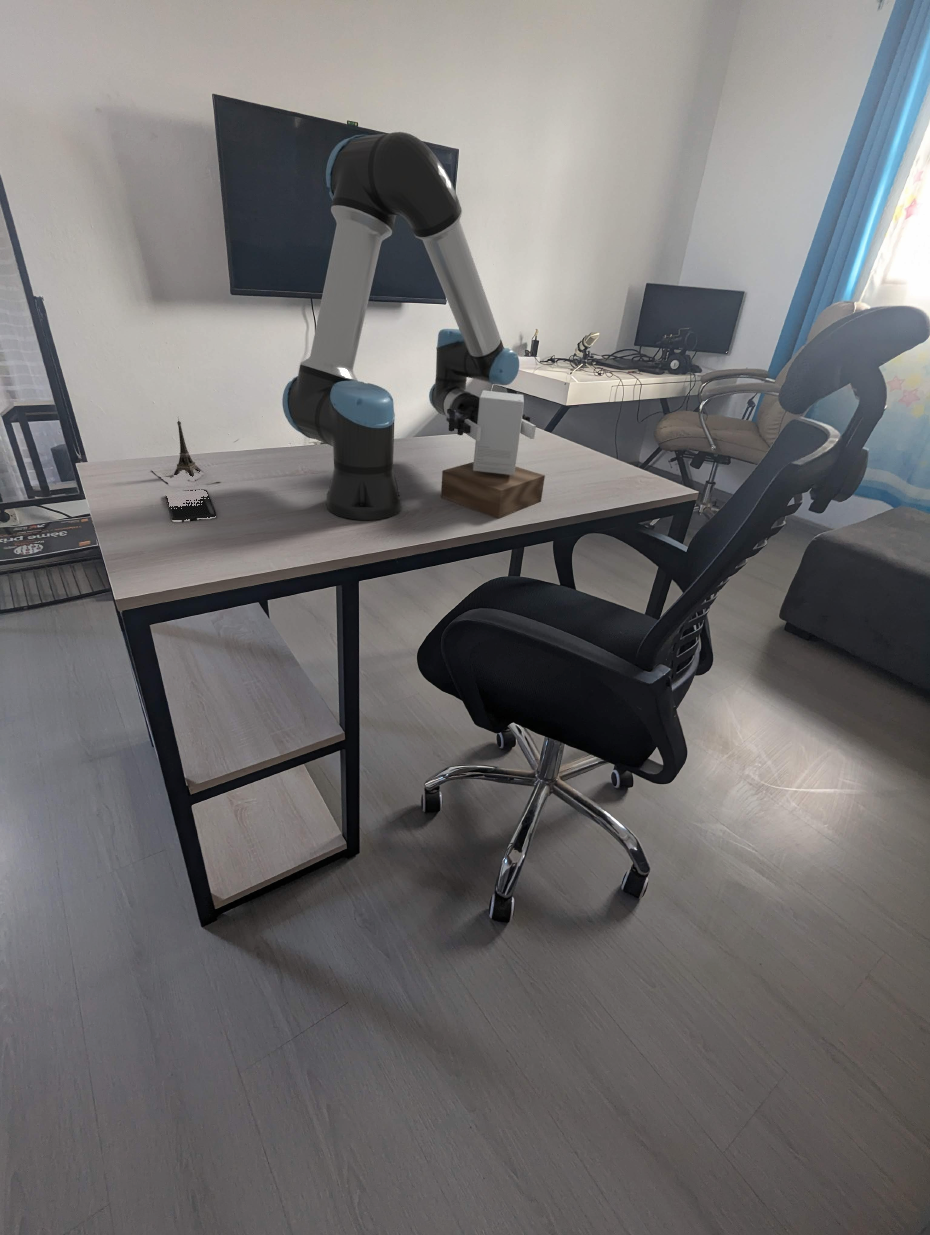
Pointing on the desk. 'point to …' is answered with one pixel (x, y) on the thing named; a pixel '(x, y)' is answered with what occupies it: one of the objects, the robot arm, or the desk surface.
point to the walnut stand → (492, 489)
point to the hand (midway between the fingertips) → (506, 433)
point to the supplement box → (498, 432)
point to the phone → (193, 509)
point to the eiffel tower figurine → (184, 456)
